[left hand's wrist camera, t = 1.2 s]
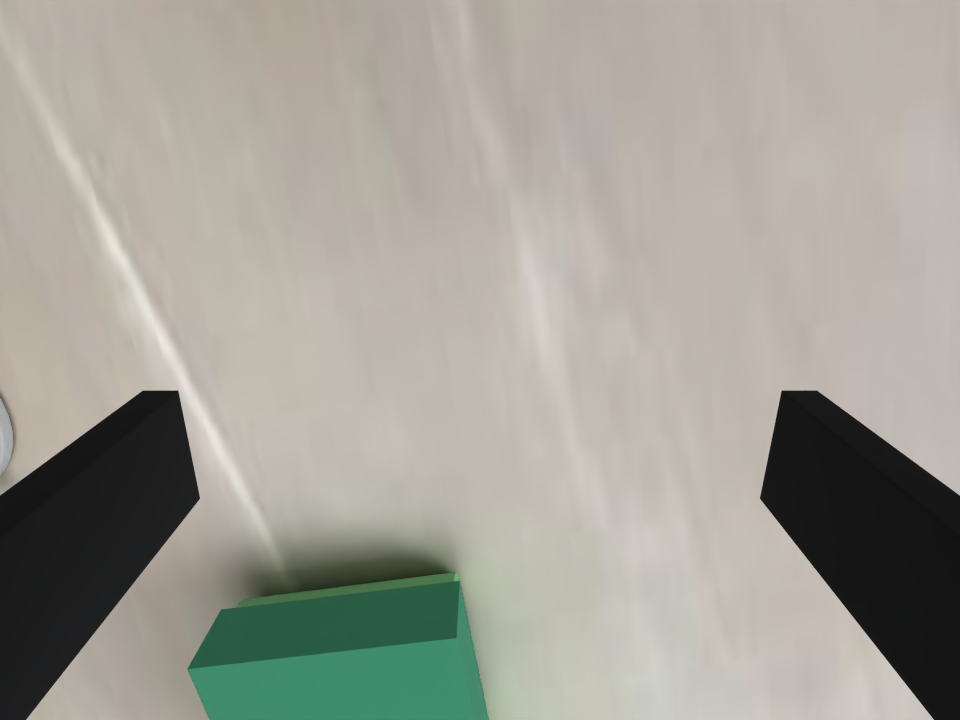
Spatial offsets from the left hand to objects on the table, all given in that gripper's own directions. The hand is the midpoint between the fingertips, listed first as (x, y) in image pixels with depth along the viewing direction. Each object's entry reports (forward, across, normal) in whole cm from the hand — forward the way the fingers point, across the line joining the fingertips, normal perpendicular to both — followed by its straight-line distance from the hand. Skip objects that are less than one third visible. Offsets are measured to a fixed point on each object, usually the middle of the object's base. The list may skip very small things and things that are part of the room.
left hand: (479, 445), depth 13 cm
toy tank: (+25, -8, -42) cm, 49 cm away
